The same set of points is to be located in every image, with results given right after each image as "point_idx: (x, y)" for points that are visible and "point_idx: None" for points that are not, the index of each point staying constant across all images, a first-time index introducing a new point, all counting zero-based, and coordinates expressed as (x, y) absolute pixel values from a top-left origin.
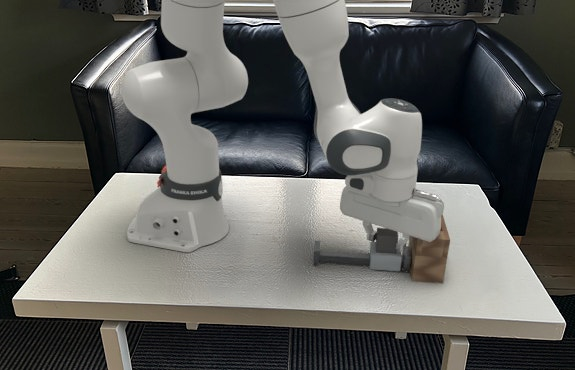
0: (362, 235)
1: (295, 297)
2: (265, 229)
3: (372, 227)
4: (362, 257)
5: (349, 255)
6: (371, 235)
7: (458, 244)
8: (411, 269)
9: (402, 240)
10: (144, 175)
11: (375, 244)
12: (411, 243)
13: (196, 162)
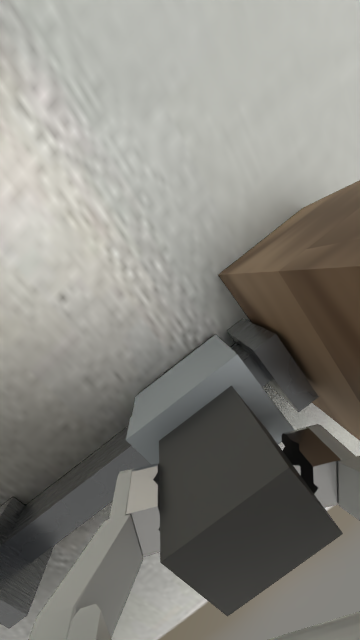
0: (9, 293)
1: (121, 631)
2: None
3: (116, 544)
4: None
5: (105, 492)
6: (154, 545)
7: (344, 54)
8: None
9: (333, 470)
10: None
11: (158, 440)
12: (305, 348)
13: None
